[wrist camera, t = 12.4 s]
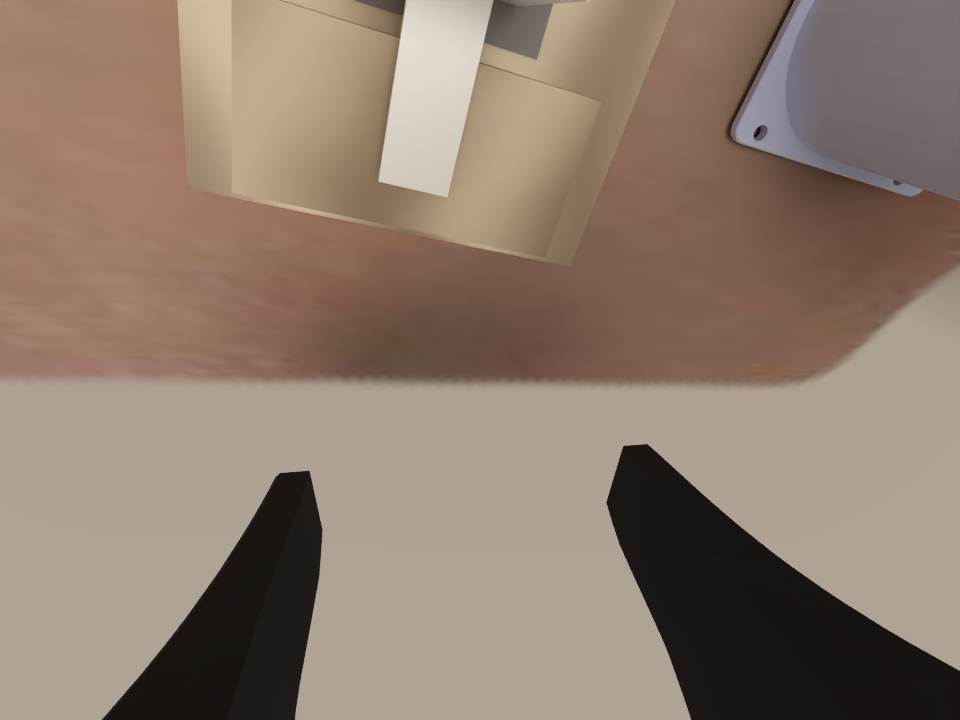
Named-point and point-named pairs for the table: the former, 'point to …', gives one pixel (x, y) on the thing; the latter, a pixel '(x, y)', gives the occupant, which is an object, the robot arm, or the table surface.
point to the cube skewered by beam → (434, 90)
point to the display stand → (365, 103)
